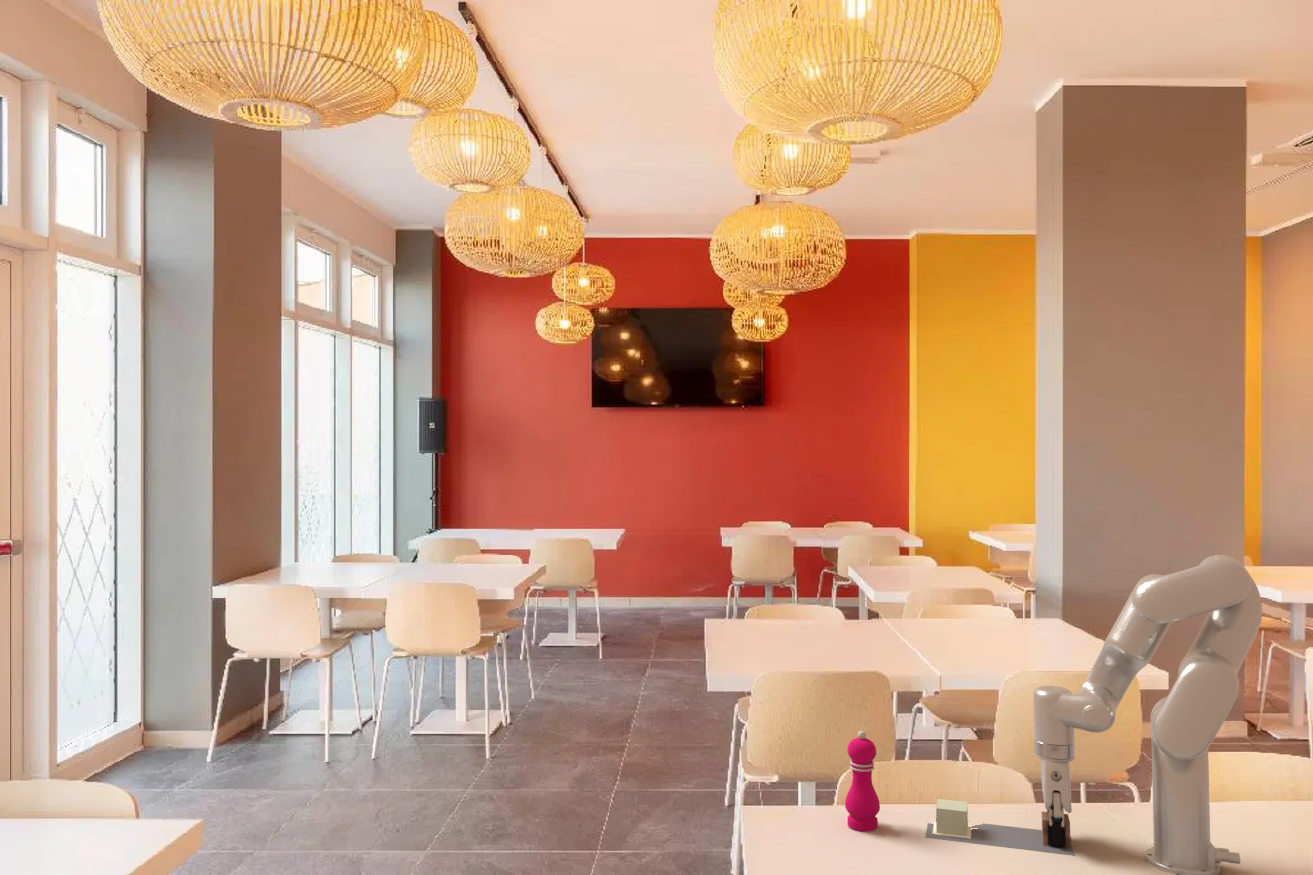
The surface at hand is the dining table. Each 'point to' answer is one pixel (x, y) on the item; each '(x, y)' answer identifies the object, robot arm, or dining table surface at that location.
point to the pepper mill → (862, 785)
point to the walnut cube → (1045, 828)
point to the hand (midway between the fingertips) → (1055, 839)
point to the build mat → (1002, 838)
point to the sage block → (951, 817)
